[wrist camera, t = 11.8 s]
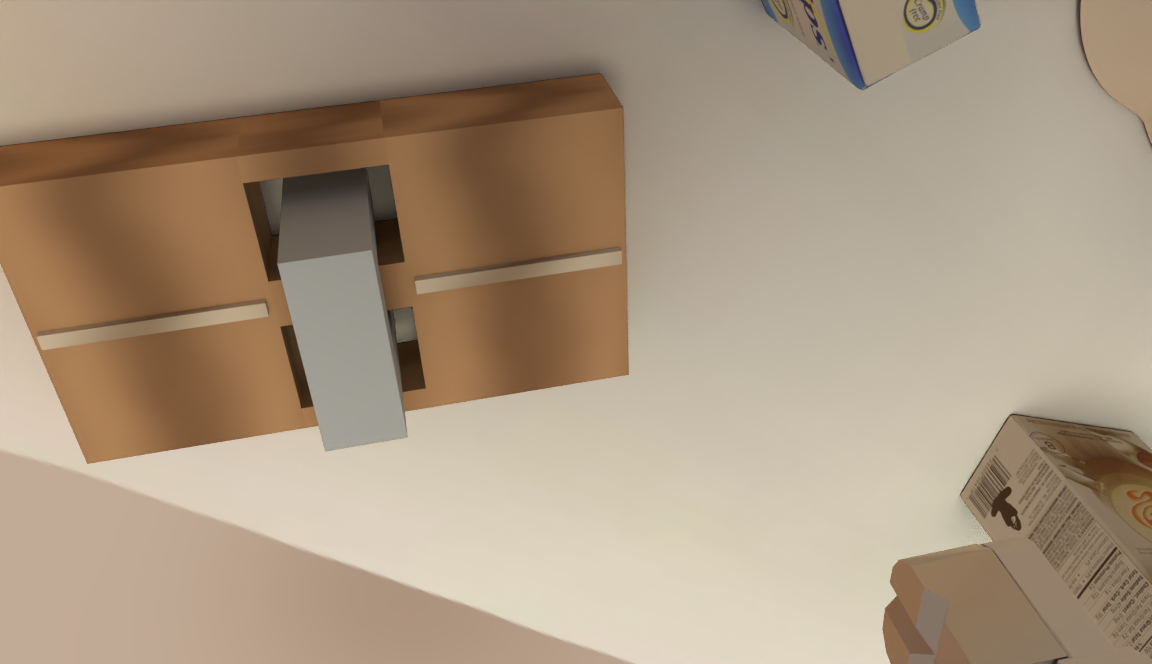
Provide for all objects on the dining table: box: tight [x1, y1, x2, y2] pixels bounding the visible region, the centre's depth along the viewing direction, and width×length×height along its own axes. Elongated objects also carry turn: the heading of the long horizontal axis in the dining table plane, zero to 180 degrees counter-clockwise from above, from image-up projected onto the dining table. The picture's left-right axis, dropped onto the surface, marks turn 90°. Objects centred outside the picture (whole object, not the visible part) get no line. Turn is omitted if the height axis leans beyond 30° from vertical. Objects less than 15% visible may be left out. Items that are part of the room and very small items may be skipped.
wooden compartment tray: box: [0, 74, 629, 464], centre depth 39 cm, size 22×12×4 cm, turn 92°
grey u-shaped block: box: [277, 167, 407, 451], centre depth 38 cm, size 3×8×8 cm, turn 3°
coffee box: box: [961, 415, 1152, 659], centre depth 51 cm, size 9×6×16 cm
